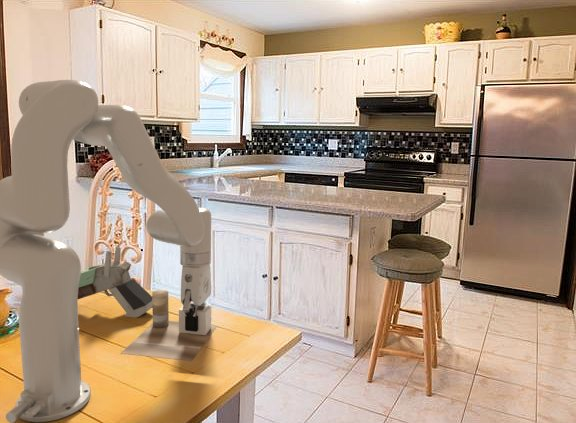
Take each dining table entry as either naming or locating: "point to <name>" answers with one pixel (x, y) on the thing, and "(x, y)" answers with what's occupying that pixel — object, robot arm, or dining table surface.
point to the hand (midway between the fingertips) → (195, 325)
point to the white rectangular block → (203, 320)
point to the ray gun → (115, 285)
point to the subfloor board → (168, 343)
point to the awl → (160, 308)
